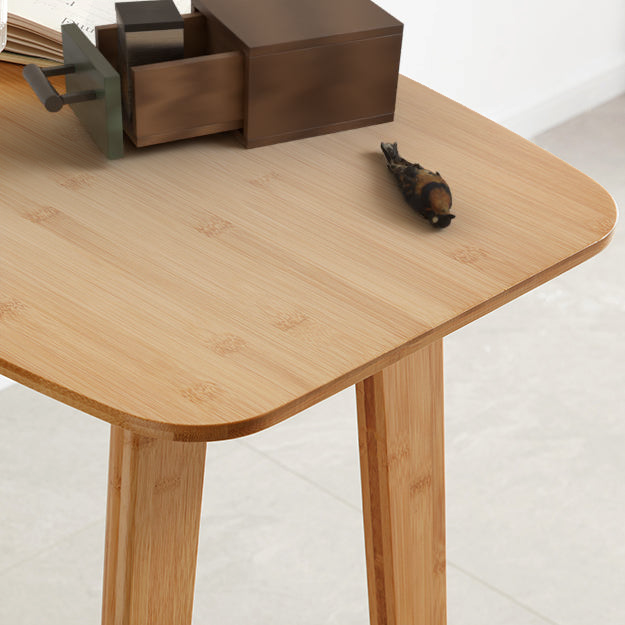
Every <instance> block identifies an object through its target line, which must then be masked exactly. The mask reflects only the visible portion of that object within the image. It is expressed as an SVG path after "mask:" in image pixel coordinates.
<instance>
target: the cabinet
mask: <svg viewBox="0 0 625 625" xmlns="http://www.w3.org/2000/svg"><path fill="white" fill-rule="evenodd" d="M195 12H201V13H202V14H204V15H205V16H206V17H207V18H208V19H209V20H210V21H211V22H212V23H213V24H214V25H215V26H217V27H218V28H219V29H220V30H221V31H222V32H223V33H224V34H225V35H226V36H227V37H228V38H229V39H231V40H232V41H233V42H234V43H235V44H236V45H237V46H238V47H239V48H240V49H241V50H242V51H244V52H245V53H246V54H245V89H244V128H240V129H234V130H229V131H230V132H231V133H232V135H233V136H235V138H236V139H237V140H238V141H239V142H240V143H241V144H242V145H243V146H244V147H245V149H247V150H249V149H254V148H260V147H266V146H270V145H276V144H280V143H286V142H292V141H297V140H301V139H307V138H312V137H317V136H322V135H329V134H332V133H337V132H338V133H339V132H343V131H348V130H354V129H359V128H364V127H369V126H375V125H380V124H384V123H390V122H394V120H395V113H396V104H397V94H398V85H399V77H400V76H399V75H400V66H401V57H402V47H403V37H404V28H405V23H403V22H402V21H400V20H399V19H398V18H396V17H395V16H394V15H393V14H391V13H390V12H388V11H387V10H385V9H384V8H382V7H381V6H380V5H378V4H377V3H375V2H374V1H373V0H190V13H195Z"/></svg>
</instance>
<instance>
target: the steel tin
mask: <svg viewBox="0 0 625 625" xmlns="http://www.w3.org/2000/svg"><path fill="white" fill-rule="evenodd" d="M114 10H115V23H116V25H117V45H118V66H119V75H120V89H121V101H122V104H123V106H124V109H125V112H126V114H127V117H128V119H129V122H133V113H132V89H131V67H136V66H143V65H149V64H156V63H162V62H169V61H175V60H182V59H184V29H183V28H184V20H183V18H182V16H181V14H182V13H180V11H179V9H178V7H177V5H176V3H175V2H174V0H134V1H133V0H132V1H117V2H114Z"/></svg>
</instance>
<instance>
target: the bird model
mask: <svg viewBox="0 0 625 625" xmlns="http://www.w3.org/2000/svg"><path fill="white" fill-rule="evenodd" d="M379 147H380V150H381V152H382V154H383V156H384V157H385V160H386V161H387V163H388V164H386V165H385V166H386V168H387V170H388V172H389V173H390V174H391V176H392V177H393V178H394V180H395V182H396V185H397V187H398V189H399V191H400V193H401V194H402V196H403V199H404V201H405V203H407V205H409V206H410V208H412V209H413V210H414V211H416V212H417V214H418V215H419V216H420V217H422V218H424V219H428V221H429V224H430V225H431V227H432V228H435V229H445V228H448V227H449V226H451V224H452V220H455V219H456V215H455V214H452V213H451V212H450V210H451V208H452V206H453V195H452V191H451V189H450V186H449V184H448V182H447V181H446V179H445V178H443V177H442V176H441V174H440V172H439V171H436V170H435V172H433V171H431V170H430V169H427V168H424V167H423V166H422V165H421V164H420V163H417V162H415V163H412V162H411V161H408V160H406V159H405V158H404V157H402V155H401V154H400V153H399V151H398V142H397V141H394V142H393V143H390V142H386V143H385V142H383V141H380V146H379Z"/></svg>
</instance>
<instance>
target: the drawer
mask: <svg viewBox="0 0 625 625" xmlns="http://www.w3.org/2000/svg"><path fill="white" fill-rule="evenodd" d="M180 14H181V16H182V18H183V20H184V28H183V29H184V59H182V60H175V61H169V62H162V63H156V64H149V65H143V66H136V67H131V89H132V113H133V122H129V119H128V117H127V114H126V112H125V109H124V106H123V104H122V101H121V89H120V75H119V66H118V45H117V25H116V22H115V23H108V24H107V23H106V24H101V25H95V26H94V41H95V44H94V43H93V42H92V41H91V40H90V38H89V37H88V36H87V35H86V34H85V32H84V31H83V30H82V29H81V28H80V27H79V25H78V24H77V23H76V22H72V23H71V22H70V23H64V24H60V30H61V31H60V32H61V44H62V58H63V64H59V65H58V64H57V65H52V66H45V67H41V68H40V66H39V65H37V63H28V64H26V65H25V66H24V67H23V69H22V77H23V78H24V80H25V81H26V82H27V84H28V85H29V86H30V88H31V90H32V91H33V92H34V94H35V96H36V97H37V98H38V100H39V101H40V103H41V104H42V106H43V107H44V108H45V110H47V112H49V113H53V114H55V113H57V112H59V111H61V110H62V109H63V106H66V105H67V106H68V107H69V108H70V110H71V111H72V112H73V113H74V115H75V116H76V117H77V118H76V119H78V120H79V122H80V123H81V125H82V126H83V127H84V129H85V130H86V131H87V133H88V134H89V136H90V137H91V138H92V140H93V141H94V142H95V144H96V145H97V147H98V148H99V149H100V150H101V152H102V153H103V154H104V156H105V157H106V158H107V160H108V161H116V160H120V159H121V160H122V159H124V158H125V154H124V132H125V134H126V135H127V136H128V138H129V139H130V140H131V142H132V143H133V144H134V145H135V146H136V148H140V147H147V146H153V145H157V144H163V143H168V142H174V141H180V140H184V139H190V138H194V137H195V138H196V137H201V136H207V135H211V134H218V133H222V132H228V131H230V130H234V129H240V128H244V89H245V54H246V53H245V52H244V51H242V50H241V49H240V48H239V47H238V46H237V45H236V44H235V43H234V42H233V41H232V40H231V39H229V38H228V37H227V36H226V35H225V34H224V33H223V32H222V31H221V30H220V29H219V28H218V27H217V26H215V25H214V24H213V23H212V22H211V21H210V20H209V19H208V18H207V17H206V16H205V15H204V14H202V13H201V12H195V13H191V12H188V13H180ZM58 76H64V81H65V82H64V83H65V93H63V94H60V93H59V92H58V91H57V89H56V88H55V86H53V84H52V82H51V81H50V79H49V78H51V77H58ZM123 131H124V132H123Z"/></svg>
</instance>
